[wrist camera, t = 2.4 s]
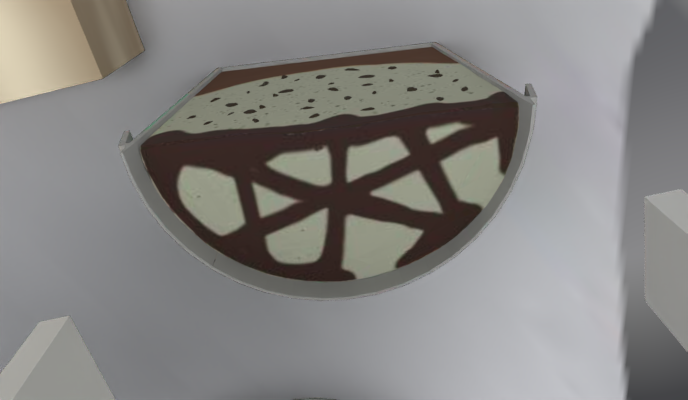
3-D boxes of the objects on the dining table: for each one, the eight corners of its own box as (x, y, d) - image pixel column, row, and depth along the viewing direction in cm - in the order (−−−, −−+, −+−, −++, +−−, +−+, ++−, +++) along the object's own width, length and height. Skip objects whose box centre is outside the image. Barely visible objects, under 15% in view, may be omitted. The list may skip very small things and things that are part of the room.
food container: (212, 200, 27) (157, 336, 18) (182, 71, 25) (99, 155, 16) (472, 171, 27) (546, 293, 18) (470, 37, 24) (555, 102, 15)
